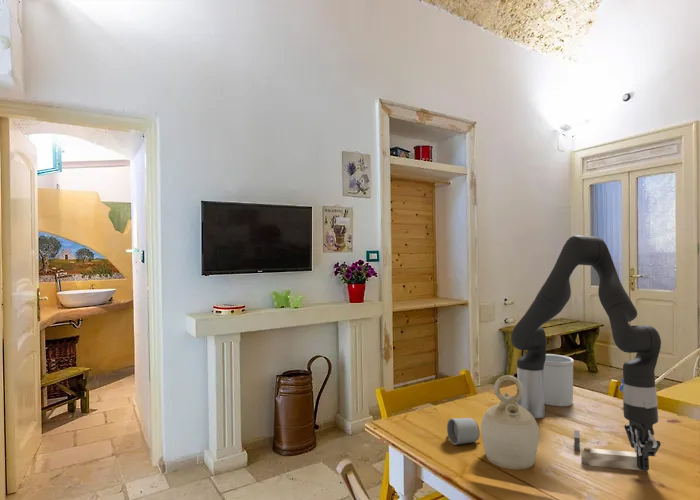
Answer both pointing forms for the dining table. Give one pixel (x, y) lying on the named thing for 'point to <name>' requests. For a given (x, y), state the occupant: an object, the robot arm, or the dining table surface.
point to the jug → (509, 430)
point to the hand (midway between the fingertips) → (643, 469)
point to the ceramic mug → (462, 430)
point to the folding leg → (609, 458)
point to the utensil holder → (558, 380)
